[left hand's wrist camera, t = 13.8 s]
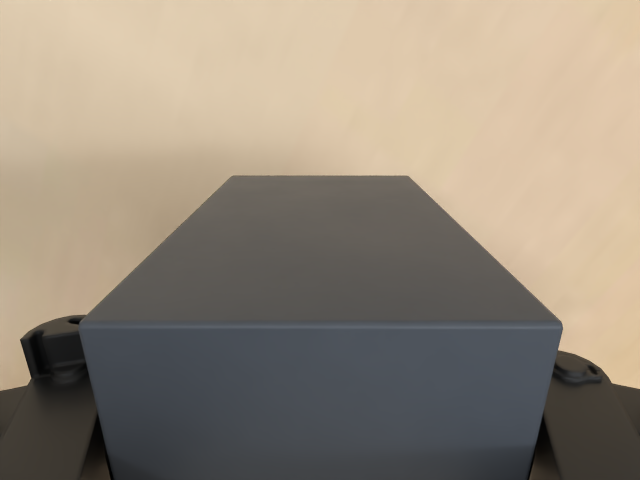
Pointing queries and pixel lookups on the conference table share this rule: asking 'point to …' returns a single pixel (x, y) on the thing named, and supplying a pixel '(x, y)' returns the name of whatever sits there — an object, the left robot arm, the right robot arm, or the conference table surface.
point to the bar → (320, 343)
